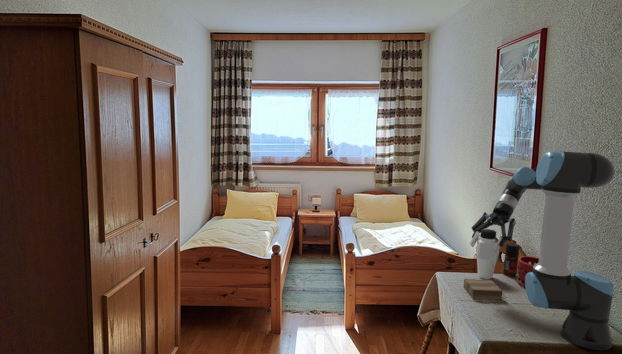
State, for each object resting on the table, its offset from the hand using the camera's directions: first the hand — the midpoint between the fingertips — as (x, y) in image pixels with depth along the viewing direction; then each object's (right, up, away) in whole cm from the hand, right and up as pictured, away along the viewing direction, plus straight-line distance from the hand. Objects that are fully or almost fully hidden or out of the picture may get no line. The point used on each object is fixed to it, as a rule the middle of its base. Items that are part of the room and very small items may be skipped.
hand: (483, 248), depth 186 cm
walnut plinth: (+1, -20, +5) cm, 21 cm away
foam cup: (+11, -18, +26) cm, 33 cm away
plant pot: (+28, -20, +16) cm, 38 cm away
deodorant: (+24, -18, +30) cm, 42 cm away
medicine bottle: (+2, -4, +3) cm, 6 cm away
